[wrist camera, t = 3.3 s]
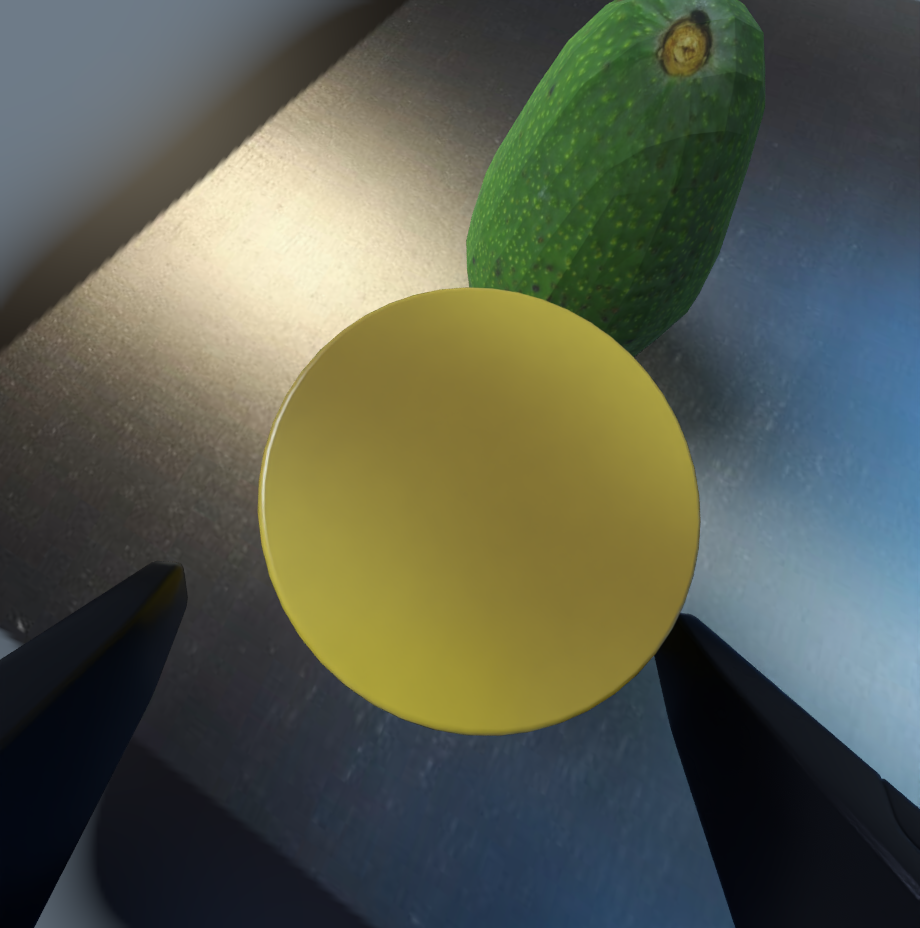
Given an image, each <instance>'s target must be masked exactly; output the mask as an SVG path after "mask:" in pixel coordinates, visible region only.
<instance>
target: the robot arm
mask: <svg viewBox="0 0 920 928" xmlns="http://www.w3.org/2000/svg"><path fill="white" fill-rule="evenodd" d="M187 598H188V596H187V588H186V581H185V573H184V568H183V566H182V564H181V563H178V562H169V561H154V562H152V563H150V564H149V565H147V566H145V567H144V568H142V569H141V570H139V571H138V572H136V573H135V574H133V575H131V576H130V577H128V578H127V579H125V580H124V581H122V582H120V583H119V584H117V585H116V586H114V587H113V588H111V589H110V590H108V591H106V592H105V593H103V594H102V595H100V596H99V597H97V598H96V599H94V600H92V601H91V602H89V603H88V604H86V605H85V606H83V607H82V608H80V609H78V610H77V611H75V612H74V613H72V614H71V615H69V616H68V617H66V618H64V619H63V620H61V621H60V622H58V623H57V624H55V625H54V626H52V627H50V628H49V629H47V630H46V631H44V632H43V633H41V634H39V635H38V636H36V637H35V638H33V639H32V640H30V641H29V642H27V643H25V644H24V645H22V646H21V647H19V648H18V649H16V650H15V651H13V652H11V653H10V654H8V655H7V656H5V657H4V658H2V659H1V660H0V928H34V927H35V925H36V923H37V921H38V919H39V917H40V915H41V913H42V911H43V909H44V907H45V905H46V903H47V902H48V900H49V898H50V896H51V894H52V892H53V890H54V888H55V886H56V884H57V882H58V880H59V877H60V876H61V874H62V872H63V870H64V868H65V866H66V864H67V862H68V860H69V859H70V857H71V855H72V853H73V851H74V849H75V847H76V845H77V843H78V841H79V839H80V837H81V835H82V833H83V831H84V829H85V827H86V825H87V823H88V821H89V819H90V817H91V815H92V813H93V812H94V809H95V808H96V806H97V804H98V802H99V800H100V798H101V796H102V794H103V792H104V790H105V788H106V786H107V784H108V782H109V780H110V778H111V776H112V774H113V773H114V771H115V769H116V766H117V764H118V763H119V761H120V759H121V757H122V755H123V753H124V751H125V749H126V747H127V745H128V743H129V741H130V739H131V737H132V735H133V733H134V731H135V730H136V728H137V726H138V724H139V722H140V720H141V718H142V716H143V714H144V712H145V710H146V708H147V706H148V704H149V702H150V700H151V697H152V695H153V693H154V690H155V688H156V685H157V683H158V680H159V678H160V675H161V673H162V670H163V667H164V665H165V662H166V659H167V657H168V654H169V652H170V649H171V646H172V644H173V641H174V638H175V636H176V633H177V631H178V628H179V625H180V623H181V620H182V617H183V615H184V612H185V609H186V606H187ZM654 657H655V661H656V666H657V670H658V675H659V679H660V684H661V688H662V693H663V697H664V702H665V706H666V711H667V715H668V719H669V723H670V727H671V731H672V734H673V737H674V741H675V744H676V747H677V750H678V753H679V756H680V759H681V762H682V765H683V769H684V772H685V775H686V778H687V781H688V784H689V787H690V790H691V793H692V796H693V799H694V802H695V805H696V809H697V812H698V815H699V818H700V821H701V824H702V827H703V830H704V833H705V836H706V839H707V842H708V845H709V848H710V852H711V855H712V858H713V861H714V864H715V867H716V870H717V873H718V876H719V879H720V882H721V885H722V888H723V891H724V895H725V898H726V901H727V904H728V907H729V910H730V913H731V916H732V919H733V922H734V925H735V928H920V809H919V808H918V807H917V806H916V805H915V804H913V803H912V802H911V801H910V800H909V799H907V798H906V797H905V796H904V795H903V794H902V793H901V792H899V791H898V790H897V789H896V788H895V787H894V786H892V785H891V784H890V783H889V782H888V781H887V780H885V779H881V776H880V775H879V774H878V773H877V772H876V771H875V770H874V769H872V768H871V767H870V766H869V765H868V764H867V763H865V762H864V761H863V760H862V759H861V758H860V757H858V756H857V755H856V754H855V753H854V752H853V751H852V750H850V749H849V748H848V747H847V746H846V745H845V744H843V743H842V742H841V741H840V740H839V739H838V738H836V737H835V736H834V735H833V734H832V733H831V732H829V731H828V730H827V729H826V728H825V727H824V726H822V725H821V724H820V723H819V722H818V721H817V720H815V719H814V718H813V717H812V716H811V715H810V714H808V713H807V712H806V711H805V710H804V709H803V708H801V707H800V706H799V705H798V704H797V703H796V702H794V701H793V700H792V699H791V698H790V697H789V696H787V695H786V694H785V693H784V692H783V691H782V690H780V689H779V688H778V687H777V686H776V685H775V684H773V683H772V682H771V681H770V680H769V679H768V678H766V677H765V676H764V675H763V674H762V673H761V672H760V671H758V670H757V669H756V668H755V667H754V666H753V665H751V664H750V663H749V662H748V661H747V660H746V659H744V658H743V657H742V656H741V655H740V654H739V653H737V652H736V651H735V650H734V649H733V648H732V647H730V646H729V645H728V644H727V643H726V642H725V641H723V640H722V639H721V638H720V637H719V636H718V635H716V634H715V633H714V632H713V631H712V630H711V629H709V628H708V627H707V626H706V625H705V624H704V623H702V622H701V621H700V620H699V619H698V618H697V617H695V616H694V615H691V614H685V613H680V614H679V616H678V618H677V620H676V622H675V624H674V626H673V628H672V630H671V631H670V633H669V634H668V636H667V637H666V639H665V640H664V642H663V644H662V645H661V647H660V648H659V650H658V651H657V653H656V654H655V655H654Z"/></svg>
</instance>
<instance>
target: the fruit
mask: <svg viewBox="0 0 920 928" xmlns="http://www.w3.org/2000/svg"><path fill="white" fill-rule="evenodd" d="M764 109H765V57H764V37H763V32H762V30H761V29H760V27H759V26H758V24H757V23H756V21H755V20H754V18H753V17H752V15H751V14H750V12H749V11H748V10H747V8H746V7H745V5H744V4H743V3H741V2H740V1H738V0H615V1H613V2H611V3H609V4H608V5H606V6H605V7H604V8H603V9H602V10H601V11H600V12H598V13H597V14H596V15H595V16H594V17H593V18H592V19H591V20H590V21H589V22H588V23H587V24H586V25H585V26H584V27H583V28H582V29H580V30H579V31H578V32H577V33H576V34H575V35H574V36H573V37H572V38H571V39H570V40H569V41H568V42H567V43H566V45H565V46H564V48H563V49H562V51H561V52H560V54H559V55H558V57H557V58H556V60H555V61H554V62H553V64H552V65H551V67H550V68H549V70H548V71H547V73H546V74H545V76H544V77H543V79H542V80H541V81H540V83H539V84H538V86H537V87H536V89H535V91H534V92H533V94H532V95H531V97H530V99H529V100H528V102H527V103H526V105H525V107H524V108H523V110H522V112H521V113H520V115H519V116H518V118H517V120H516V121H515V123H514V124H513V126H512V128H511V129H510V131H509V132H508V134H507V136H506V137H505V139H504V141H503V142H502V144H501V145H500V147H499V149H498V150H497V152H496V154H495V156H494V158H493V160H492V162H491V164H490V166H489V168H488V170H487V172H486V174H485V177H484V180H483V184H482V187H481V190H480V193H479V196H478V199H477V202H476V205H475V208H474V211H473V214H472V219H471V223H470V227H469V232H468V236H467V240H466V246H467V273H468V280H469V288H492V289H499V290H505V291H511V292H518V293H521V294H525V295H529V296H532V297H536V298H539V299H543V300H545V301H548V302H550V303H553V304H555V305H558V306H560V307H562V308H565V309H567V310H569V311H571V312H573V313H575V314H576V315H578V316H580V317H582V318H584V319H586V320H587V321H589V322H591V323H592V324H594V325H595V326H596V327H598V328H599V329H601V330H602V331H604V332H605V333H606V334H608V335H609V336H611V337H612V338H613V339H614V340H615V341H616V342H618V343H619V344H620V345H621V346H622V347H623V348H624V349H625V350H627V351H628V352H629V353H630V354H631V355H632V356H633V357H634V356H635V355H637V354H638V353H639V352H641V351H642V350H643V349H644V348H646V347H647V346H648V345H650V344H651V343H652V342H653V341H655V340H656V339H657V338H658V337H659V336H660V335H662V334H663V333H664V332H665V331H666V330H667V329H669V328H670V327H671V326H672V325H673V324H674V323H675V322H677V321H678V320H679V319H680V318H681V317H682V316H683V315H685V314H686V313H687V312H688V310H689V308H690V307H691V305H692V304H693V302H694V301H695V299H696V298H697V296H698V295H699V293H700V291H701V289H702V287H703V285H704V283H705V281H706V279H707V277H708V275H709V273H710V271H711V269H712V267H713V265H714V263H715V261H716V259H717V257H718V255H719V253H720V250H721V247H722V244H723V241H724V238H725V235H726V232H727V229H728V226H729V222H730V219H731V216H732V213H733V210H734V207H735V204H736V201H737V198H738V195H739V192H740V190H741V187H742V184H743V181H744V178H745V175H746V172H747V169H748V166H749V162H750V158H751V155H752V151H753V148H754V144H755V141H756V137H757V134H758V130H759V127H760V123H761V120H762V116H763V113H764Z"/></svg>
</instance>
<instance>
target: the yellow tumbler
mask: <svg viewBox="0 0 920 928" xmlns="http://www.w3.org/2000/svg"><path fill="white" fill-rule="evenodd" d="M258 519H259V527H260V536H261V545H262V549H263V553H264V557H265V561H266V564H267V568H268V572H269V576H270V579H271V581H272V584H273V586H274V588H275V591H276V593H277V596H278V598H279V600H280V603H281V605H282V608H283V609H284V611H285V613H286V614H287V616H288V618H289V619H290V621H291V623H292V624H293V626H294V628H295V630H296V631H297V633H298V635H299V636H300V638H301V639H302V640H303V641H304V642H305V644H306V645H307V646H308V647H309V649H310V650H311V651H312V652H313V654H314V655H315V656H316V657H317V659H318V660H319V661H320V662H321V663H322V664H323V665H324V666H325V667H326V668H327V669H328V670H329V671H330V672H331V673H332V674H333V675H335V676H336V677H337V678H338V679H339V680H340V681H341V682H342V683H343V684H344V685H345V686H347V687H348V688H350V689H351V690H352V691H354V692H355V693H357V694H358V695H360V696H361V697H363V698H364V699H365V700H367V701H368V702H370V703H371V704H373V705H375V706H377V707H379V708H381V709H383V710H385V711H387V712H389V713H391V714H393V715H395V716H397V717H399V718H401V719H403V720H406V721H409V722H412V723H415V724H418V725H421V726H424V727H427V728H430V729H433V730H438V731H444V732H450V733H456V734H462V735H479V736H502V735H510V734H518V733H525V732H531V731H535V730H539V729H542V728H546V727H549V726H553V725H556V724H560V723H562V722H564V721H567V720H569V719H571V718H573V717H576V716H578V715H580V714H582V713H584V712H587V711H589V710H590V709H592V708H593V707H595V706H596V705H598V704H600V703H601V702H603V701H604V700H606V699H607V698H609V697H611V696H612V695H614V694H615V693H616V692H617V691H619V690H620V689H621V688H622V687H623V686H624V685H626V684H627V683H628V682H629V681H630V680H631V679H633V678H634V677H635V676H636V675H637V674H638V673H639V672H640V671H641V670H642V669H643V667H644V666H645V665H646V664H647V663H648V662H649V661H650V659H651V658H652V657H653V656H654V655H655V654H656V653H657V651H658V650H659V648H660V647H661V645H662V644H663V642H664V640H665V639H666V637H667V636H668V634H669V633H670V631H671V630H672V628H673V626H674V624H675V622H676V620H677V618H678V616H679V614H680V612H681V610H682V608H683V605H684V603H685V600H686V597H687V594H688V591H689V588H690V585H691V582H692V579H693V576H694V571H695V566H696V561H697V555H698V550H699V537H700V523H701V521H700V502H699V491H698V485H697V479H696V474H695V468H694V465H693V461H692V458H691V454H690V451H689V448H688V444H687V441H686V439H685V437H684V434H683V432H682V429H681V427H680V425H679V422H678V420H677V418H676V416H675V414H674V412H673V411H672V409H671V407H670V405H669V404H668V402H667V400H666V398H665V396H664V395H663V393H662V392H661V391H660V389H659V388H658V386H657V385H656V384H655V382H654V381H653V379H652V378H651V377H650V375H649V374H648V373H647V372H646V371H645V369H644V368H643V367H642V366H641V365H640V364H639V363H638V362H637V361H636V359H635V358H634V357H633V356H632V355H631V354H630V353H629V352H628V351H627V350H625V349H624V348H623V347H622V346H621V345H620V344H619V343H618V342H616V341H615V340H614V339H613V338H612V337H611V336H609V335H608V334H606V333H605V332H604V331H602V330H601V329H599V328H598V327H596V326H595V325H594V324H592V323H591V322H589V321H587V320H586V319H584V318H582V317H580V316H578V315H576V314H575V313H573V312H571V311H569V310H567V309H565V308H562V307H560V306H558V305H555V304H553V303H550V302H548V301H545V300H543V299H539V298H536V297H532V296H529V295H525V294H521V293H518V292H511V291H505V290H499V289H492V288H467V287H466V288H454V289H442V290H436V291H431V292H426V293H422V294H417V295H413V296H410V297H407V298H404V299H401V300H398V301H395V302H393V303H390V304H388V305H385V306H383V307H381V308H379V309H377V310H375V311H373V312H371V313H369V314H367V315H365V316H364V317H362V318H361V319H359V320H358V321H356V322H355V323H353V324H352V325H350V326H349V327H347V328H346V329H344V330H343V331H341V332H340V333H339V334H338V335H337V336H336V337H335V338H333V339H332V340H331V341H330V342H329V343H328V344H327V345H325V346H324V347H323V348H322V349H321V350H320V351H319V352H318V353H317V354H316V356H315V357H314V358H313V359H312V360H311V361H310V362H309V364H308V365H307V366H306V367H305V368H304V369H303V370H302V372H301V373H300V375H299V376H298V378H297V379H296V381H295V382H294V384H293V385H292V387H291V388H290V390H289V391H288V393H287V395H286V396H285V398H284V400H283V402H282V405H281V407H280V409H279V411H278V413H277V415H276V417H275V419H274V421H273V424H272V427H271V430H270V433H269V437H268V440H267V443H266V446H265V449H264V453H263V459H262V465H261V472H260V478H259V491H258Z"/></svg>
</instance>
